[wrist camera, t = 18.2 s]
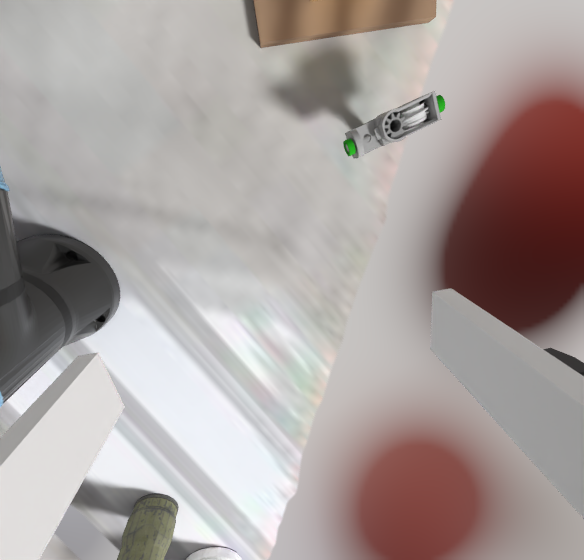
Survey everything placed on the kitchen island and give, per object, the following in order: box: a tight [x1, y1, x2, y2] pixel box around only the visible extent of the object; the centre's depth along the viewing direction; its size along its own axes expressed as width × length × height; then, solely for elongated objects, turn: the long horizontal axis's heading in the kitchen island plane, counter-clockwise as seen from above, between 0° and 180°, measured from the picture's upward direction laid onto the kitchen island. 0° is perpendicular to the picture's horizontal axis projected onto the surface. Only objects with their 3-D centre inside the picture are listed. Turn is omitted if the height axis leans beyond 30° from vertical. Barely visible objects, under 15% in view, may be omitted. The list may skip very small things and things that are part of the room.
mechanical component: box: [343, 91, 445, 158], centre depth 34 cm, size 3×10×10 cm, turn 114°
